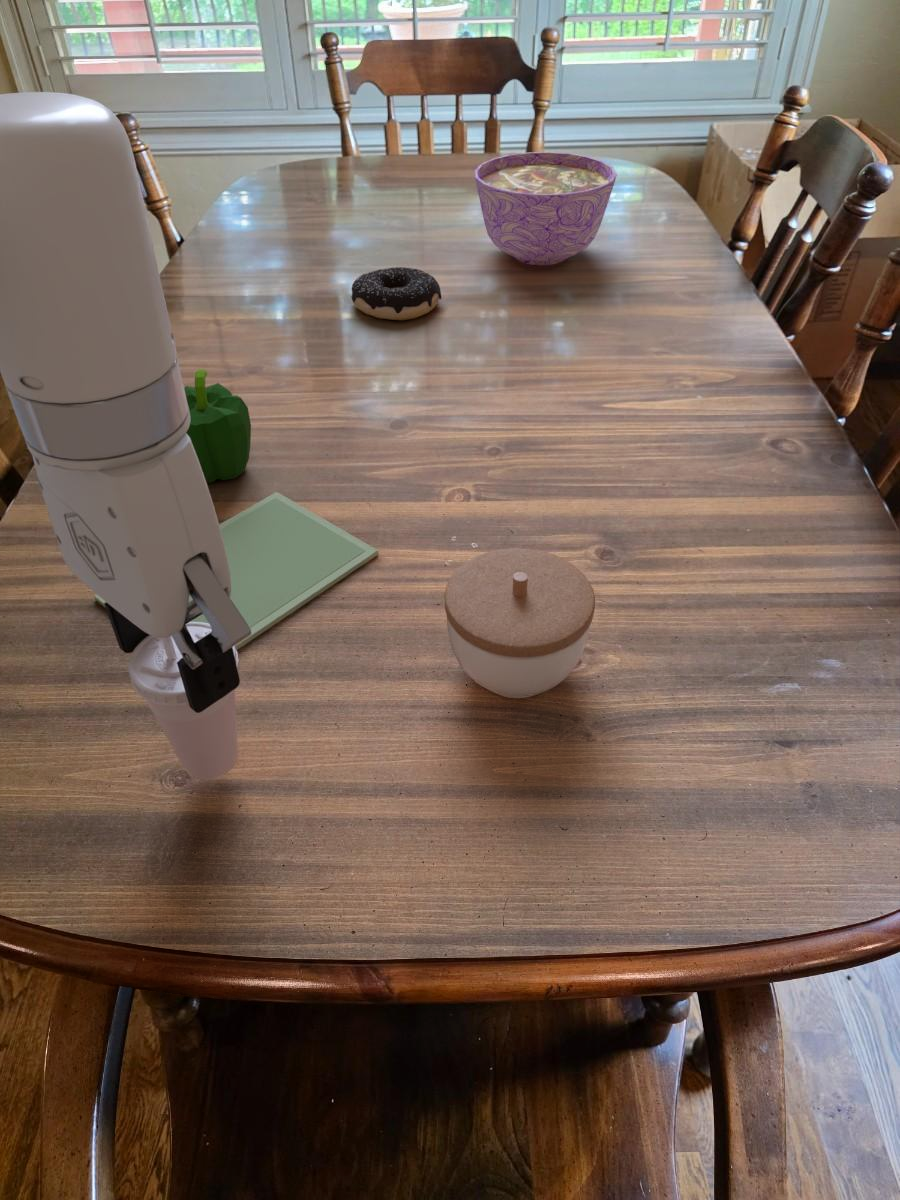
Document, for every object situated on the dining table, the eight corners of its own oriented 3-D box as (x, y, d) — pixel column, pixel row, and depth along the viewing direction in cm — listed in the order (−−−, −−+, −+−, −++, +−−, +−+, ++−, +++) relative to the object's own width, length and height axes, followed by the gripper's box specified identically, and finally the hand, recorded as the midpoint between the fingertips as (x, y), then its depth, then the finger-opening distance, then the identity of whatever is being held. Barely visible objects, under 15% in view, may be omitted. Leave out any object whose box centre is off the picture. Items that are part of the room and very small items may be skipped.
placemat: (194, 679, 67) (192, 674, 66) (95, 600, 74) (93, 595, 73) (378, 554, 78) (378, 549, 77) (277, 495, 85) (276, 491, 84)
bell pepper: (236, 499, 84) (215, 408, 77) (161, 486, 86) (135, 396, 79) (273, 454, 90) (257, 365, 83) (203, 443, 92) (181, 355, 85)
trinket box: (614, 683, 66) (630, 590, 59) (499, 745, 61) (502, 652, 55) (529, 603, 72) (535, 512, 66) (420, 655, 68) (415, 563, 62)
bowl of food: (532, 222, 140) (536, 143, 132) (635, 252, 130) (645, 169, 122) (446, 257, 130) (444, 174, 122) (550, 293, 119) (555, 205, 111)
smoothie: (154, 737, 60) (101, 582, 51) (246, 710, 62) (211, 556, 52) (170, 809, 55) (115, 654, 46) (269, 777, 57) (235, 622, 48)
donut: (419, 329, 111) (418, 299, 109) (337, 316, 115) (334, 286, 112) (451, 296, 119) (450, 267, 116) (373, 284, 122) (371, 256, 120)
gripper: (-62, 370, 43) (48, 633, 55) (138, 508, 34) (217, 784, 46) (76, 322, 47) (150, 576, 59) (285, 435, 38) (322, 705, 50)
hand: (179, 666), depth 52 cm, fingers closed on smoothie, 6 cm apart
